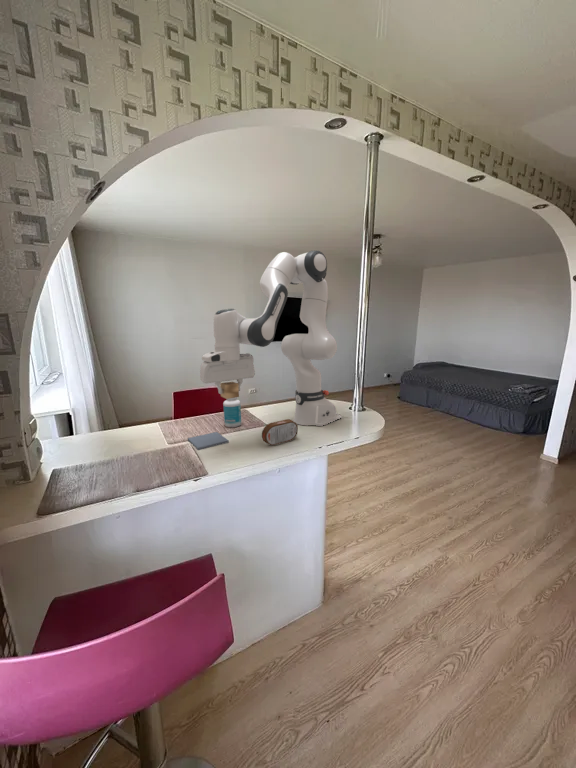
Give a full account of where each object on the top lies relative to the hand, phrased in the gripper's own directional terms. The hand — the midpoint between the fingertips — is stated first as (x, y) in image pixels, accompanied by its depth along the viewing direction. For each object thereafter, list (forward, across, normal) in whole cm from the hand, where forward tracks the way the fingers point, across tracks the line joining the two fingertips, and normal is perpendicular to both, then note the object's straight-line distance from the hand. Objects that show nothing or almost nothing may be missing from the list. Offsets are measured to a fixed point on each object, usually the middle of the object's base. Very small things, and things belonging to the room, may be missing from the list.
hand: (229, 392), depth 122 cm
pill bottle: (+20, -9, -19) cm, 29 cm away
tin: (+20, -15, +11) cm, 27 cm away
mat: (+20, +7, -7) cm, 22 cm away
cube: (+2, 0, 0) cm, 2 cm away
